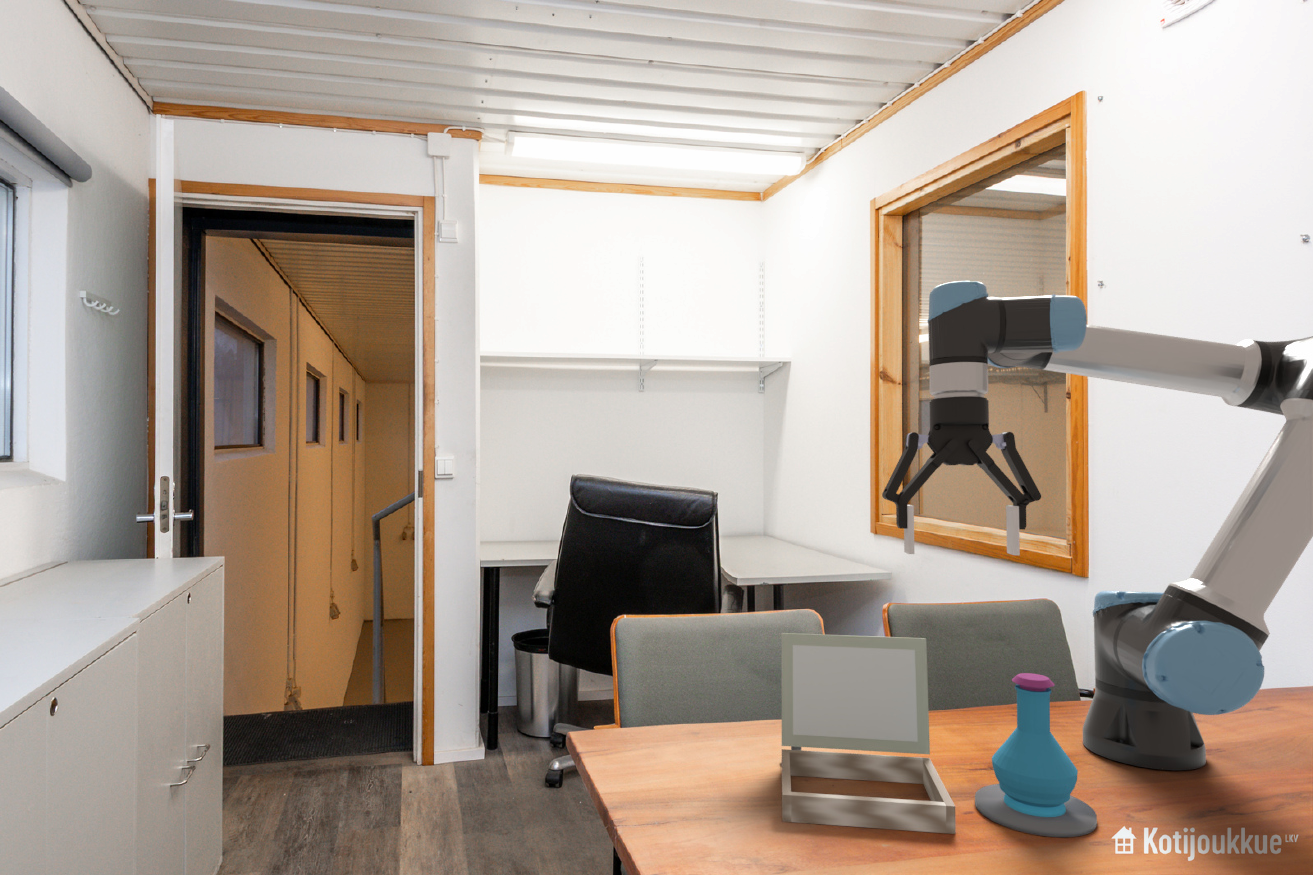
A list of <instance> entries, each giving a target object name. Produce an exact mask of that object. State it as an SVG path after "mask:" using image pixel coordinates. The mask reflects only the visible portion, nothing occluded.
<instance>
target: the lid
mask: <svg viewBox="0 0 1313 875" xmlns="http://www.w3.org/2000/svg"><path fill="white" fill-rule="evenodd" d="M927 653H928V652H927V638H926V637H925V638H924V637H901V636H900V637H896V636H872V635H871V636H870V635H843V634H842V635H841V634H840V635H839V634H820V633H819V634H817V633H814V634H813V633H793V632H792V633H790V632H789V633H787V632H781V746H782V747H791V746H794V747H801V748H811V749H812V748H813V749H831V750H833V749H834V750H849V751H864V752H865V751H866V752H880V753H882V752H883V753H899V754H912V755H913V754H918V755H931V747H930V741H931V740H930V717H929V713H930V711H929V688H928V687H929V686H928V683H929V682H928V679H929V678H928V657H927V655H928V654H927Z"/></svg>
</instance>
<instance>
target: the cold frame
mask: <svg viewBox="0 0 1313 875" xmlns="http://www.w3.org/2000/svg"><path fill="white" fill-rule="evenodd" d="M791 776H794V777H808V778H809V777H810V778H811V777H812V778H826V779H840V780H841V779H842V780H854V781H855V780H856V781H857V780H858V781H869V782H871V781H873V782H887V783H902V784H919V785H923V787H924V789H925V791H926V793H927V795H928V797H929V799H930V800H916V799H904V798H903V799H901V798H889V797H888V798H887V797H877V796H876V797H874V796H873V797H872V796H871V797H870V796H859V795H844V794H843V795H841V794H827V793H826V794H825V793H814V792H813V793H812V792H799V791H792V782H791V780H792V779H791V778H792V777H791ZM781 807H782V808H781V810H782V811H781V812H782V813H781V815H782V822H786V823H787V822H788V823H798V824H800V823H801V824H802V823H803V824H816V825H828V826H839V827H840V826H841V827H856V828H869V829H881V830H882V829H884V830H894V831H895V830H896V831H897V830H898V831H908V832H909V831H910V832H925V833H938V834H939V833H940V834H952V835H956V834H957V833H956V828H957V827H956V826H957V825H956V819H957V818H956V804H955V803H954V801H953V799H952V798H951V796H950V794H949V792H948V790H947V788H946V787H945V784H944V783H943V781H942V778H941V777H940V775H939V774H938V771H937V769H936V767H935V765H934V764H933V762H932V759H931V758H930V757H923V756H922V757H920V756H902V755H900V756H899V755H885V754H867V753H852V752H851V753H850V752H835V751H817V750H816V751H815V750H804V749H803V750H802V749H801V750H791V749H785V748H784V749H782V748H781Z"/></svg>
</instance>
